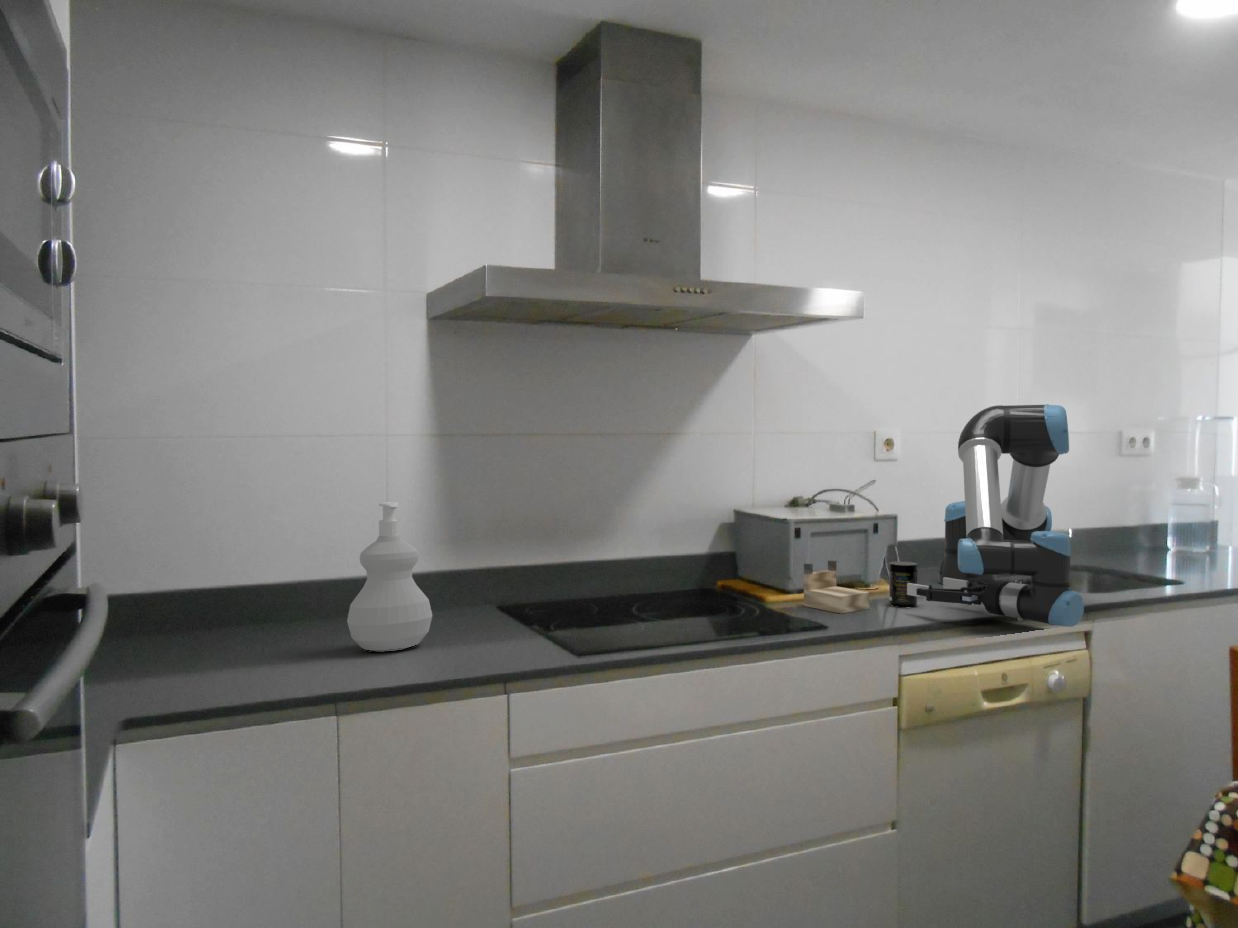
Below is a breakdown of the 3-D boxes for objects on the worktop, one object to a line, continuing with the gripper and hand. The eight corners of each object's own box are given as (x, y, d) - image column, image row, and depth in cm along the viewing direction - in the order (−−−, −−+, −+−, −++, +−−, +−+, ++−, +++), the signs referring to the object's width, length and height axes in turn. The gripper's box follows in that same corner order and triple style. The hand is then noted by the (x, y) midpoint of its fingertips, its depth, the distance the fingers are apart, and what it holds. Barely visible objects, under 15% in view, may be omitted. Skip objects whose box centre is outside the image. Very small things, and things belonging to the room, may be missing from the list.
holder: (831, 601, 229) (831, 560, 229) (869, 608, 219) (869, 565, 219) (803, 605, 223) (803, 563, 223) (840, 613, 214) (841, 569, 213)
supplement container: (921, 607, 220) (922, 565, 220) (894, 608, 220) (894, 565, 219) (911, 602, 227) (911, 561, 226) (884, 603, 226) (884, 561, 226)
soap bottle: (355, 660, 173) (353, 506, 171) (341, 647, 183) (338, 502, 181) (440, 648, 181) (438, 502, 180) (422, 637, 191) (420, 498, 190)
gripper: (973, 623, 192) (892, 607, 210) (1039, 609, 207) (958, 595, 224) (974, 588, 192) (892, 575, 210) (1039, 576, 206) (958, 565, 224)
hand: (926, 585), depth 217 cm, fingers open, 13 cm apart
